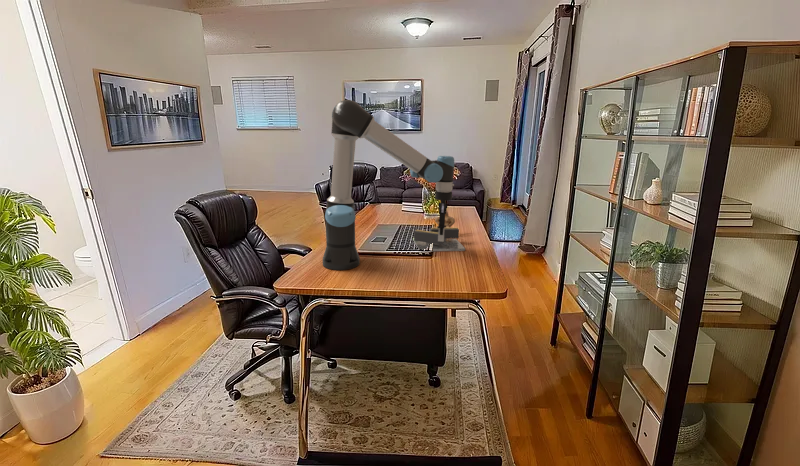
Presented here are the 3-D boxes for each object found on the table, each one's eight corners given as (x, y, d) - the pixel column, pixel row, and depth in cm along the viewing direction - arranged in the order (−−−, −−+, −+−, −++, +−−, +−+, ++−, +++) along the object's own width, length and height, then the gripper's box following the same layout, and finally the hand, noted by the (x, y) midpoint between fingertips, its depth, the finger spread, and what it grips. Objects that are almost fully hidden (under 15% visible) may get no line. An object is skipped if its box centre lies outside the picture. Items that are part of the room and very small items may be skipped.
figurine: (431, 237, 196) (433, 208, 197) (435, 238, 205) (436, 211, 206) (452, 238, 193) (454, 209, 194) (454, 239, 202) (456, 211, 203)
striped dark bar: (441, 246, 175) (442, 234, 174) (413, 242, 180) (414, 230, 179) (443, 244, 178) (444, 232, 177) (416, 240, 183) (416, 229, 182)
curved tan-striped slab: (458, 240, 186) (459, 228, 184) (430, 240, 184) (431, 228, 183) (456, 238, 189) (457, 226, 187) (429, 238, 187) (429, 227, 186)
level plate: (417, 251, 172) (417, 247, 172) (412, 241, 188) (412, 237, 187) (465, 250, 175) (465, 246, 175) (455, 240, 190) (456, 236, 190)
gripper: (452, 193, 162) (448, 245, 168) (452, 189, 174) (449, 237, 180) (434, 192, 163) (432, 244, 169) (436, 188, 175) (433, 236, 181)
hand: (440, 241), depth 175 cm, fingers closed
